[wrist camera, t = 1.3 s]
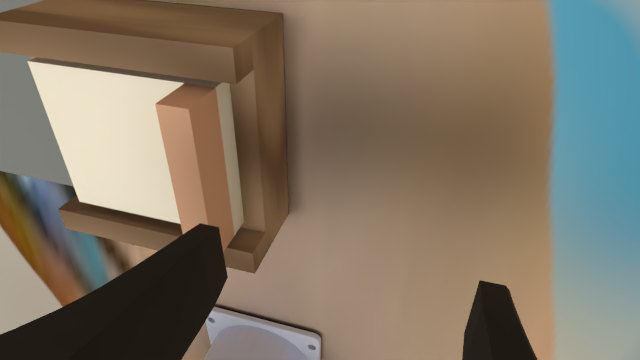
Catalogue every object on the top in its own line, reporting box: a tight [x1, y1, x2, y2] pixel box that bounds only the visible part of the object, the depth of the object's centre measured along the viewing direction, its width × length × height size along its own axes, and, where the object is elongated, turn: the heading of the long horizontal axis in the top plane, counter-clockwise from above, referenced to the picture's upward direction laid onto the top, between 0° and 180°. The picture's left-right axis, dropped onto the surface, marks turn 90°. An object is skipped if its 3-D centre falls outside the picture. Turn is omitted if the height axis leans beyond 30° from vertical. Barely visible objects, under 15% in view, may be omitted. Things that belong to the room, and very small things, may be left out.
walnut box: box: [0, 0, 289, 273], centre depth 19 cm, size 10×10×4 cm
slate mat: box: [0, 0, 73, 186], centre depth 23 cm, size 12×10×1 cm
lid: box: [27, 57, 244, 252], centre depth 18 cm, size 7×8×3 cm
